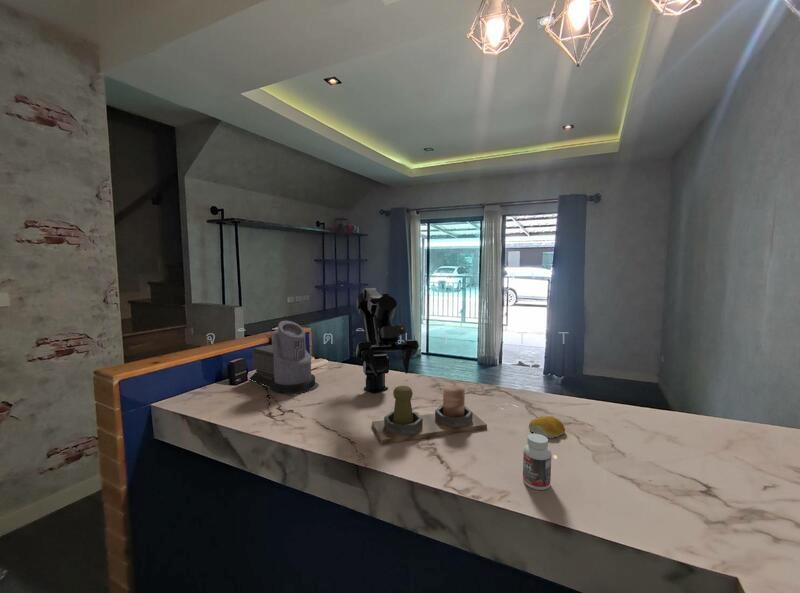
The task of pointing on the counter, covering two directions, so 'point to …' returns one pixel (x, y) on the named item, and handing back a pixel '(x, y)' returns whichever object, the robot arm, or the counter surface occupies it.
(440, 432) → the rail
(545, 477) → the pill bottle
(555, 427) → the bread roll
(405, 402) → the olive green peg
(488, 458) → the counter surface
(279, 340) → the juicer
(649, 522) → the counter surface
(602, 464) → the counter surface
